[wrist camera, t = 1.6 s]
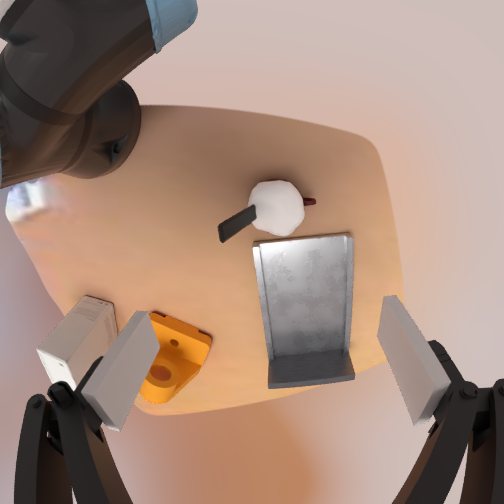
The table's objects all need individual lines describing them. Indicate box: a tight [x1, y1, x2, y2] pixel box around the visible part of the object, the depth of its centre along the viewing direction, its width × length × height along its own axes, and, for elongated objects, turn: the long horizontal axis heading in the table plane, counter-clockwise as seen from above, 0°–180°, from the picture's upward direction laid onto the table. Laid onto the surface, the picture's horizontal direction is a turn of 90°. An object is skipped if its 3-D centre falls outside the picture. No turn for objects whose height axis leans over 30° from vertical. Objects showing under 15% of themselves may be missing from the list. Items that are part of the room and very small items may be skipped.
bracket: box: [139, 313, 212, 404], centre depth 37 cm, size 11×7×12 cm, turn 67°
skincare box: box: [37, 296, 118, 391], centre depth 36 cm, size 8×7×16 cm
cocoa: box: [218, 179, 316, 243], centre depth 28 cm, size 10×6×12 cm, turn 75°
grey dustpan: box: [252, 233, 355, 389], centre depth 35 cm, size 20×13×7 cm, turn 8°
